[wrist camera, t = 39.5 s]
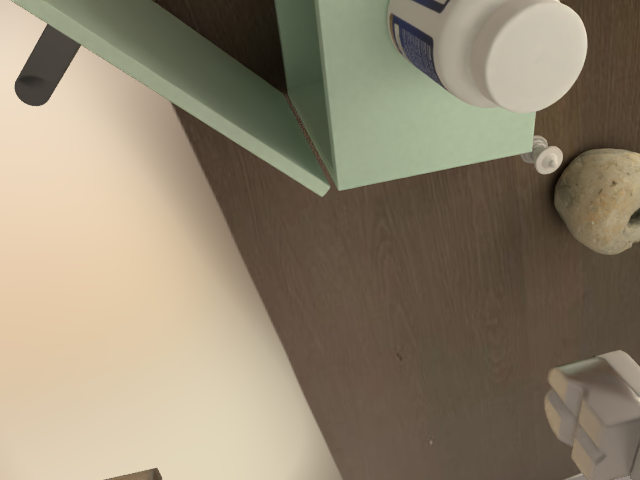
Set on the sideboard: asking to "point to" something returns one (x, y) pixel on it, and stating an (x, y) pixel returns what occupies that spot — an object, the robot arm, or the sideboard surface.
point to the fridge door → (170, 75)
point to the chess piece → (543, 156)
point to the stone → (601, 199)
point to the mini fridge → (380, 99)
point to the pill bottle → (492, 48)
